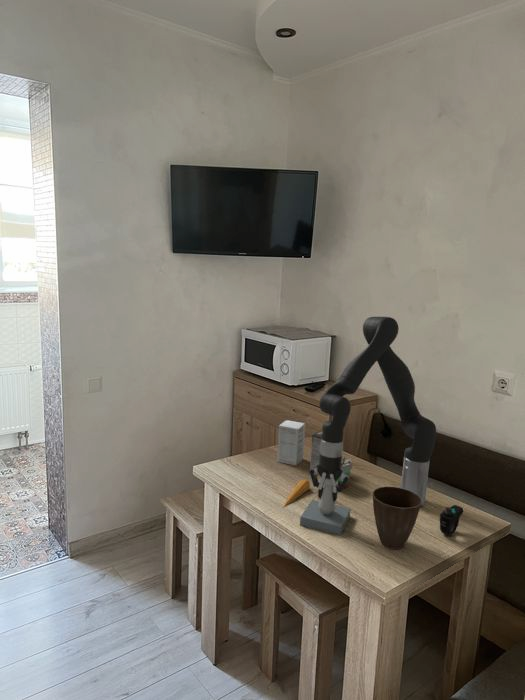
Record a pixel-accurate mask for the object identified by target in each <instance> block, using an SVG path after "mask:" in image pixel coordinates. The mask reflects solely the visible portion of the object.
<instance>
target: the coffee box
mask: <svg viewBox="0 0 525 700" xmlns="http://www.w3.org/2000/svg"><path fill="white" fill-rule="evenodd" d="M321 440H322V429H321V430H319V431H317V432H315V433H313V434H312V436H311V448H310V449H311V451H310V463H309V464H310V465H309V471H310V470H311V469H312V468H318V466H319V456H320V445H321ZM317 474H319V473H318V471H317Z"/></svg>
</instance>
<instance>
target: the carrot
mask: <svg viewBox="0 0 525 700" xmlns="http://www.w3.org/2000/svg"><path fill="white" fill-rule="evenodd" d="M310 484H311V483H310V482H309V480H307V479H305V478H303V479H302V480H300V481H299V482H297V484H296V486H295V487H294V489H293V490H292V492H291V494H290V495H289V496H288V498H287V499H286V501H285V502H284V505H283V508H285V507H286V506H288V505H289V504H291V503H292V502H293V501H295V500H296V499H297V498H299V497H300V496H302V495H303V494H304V493H305V492H307V491H308V490H309V489H310Z"/></svg>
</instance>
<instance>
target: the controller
mask: <svg viewBox="0 0 525 700" xmlns="http://www.w3.org/2000/svg"><path fill="white" fill-rule="evenodd" d="M463 514H464V508H463V507H461V506H459V505H456V504H453V505H452V506H450V507H448V506H446V507H445V509H444V510H443V511H442V512H440V514H439V530H440V531H441V533H442V534H444V535H446V536H449V535H450V536H453V535H454V533H456V531H457V528H458V526H459V522H460V518H461V516H462V515H463ZM452 534H453V535H452Z"/></svg>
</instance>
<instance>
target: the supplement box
mask: <svg viewBox="0 0 525 700" xmlns="http://www.w3.org/2000/svg"><path fill="white" fill-rule="evenodd" d="M305 430H306V423H304V422H298V421H294V420H288V419H287V420H284V421H283V422H282V423H280V424H279V426H278V434H277V435H278V436H277V438H278V439H277V454H276V455H277V456H276V461H278V462H279V463H282V464H288V465H292V466H297V465H299V464H300V463H301V462H302V461H303V460H304V454H305V453H304V450H305V434H306V431H305Z"/></svg>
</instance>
